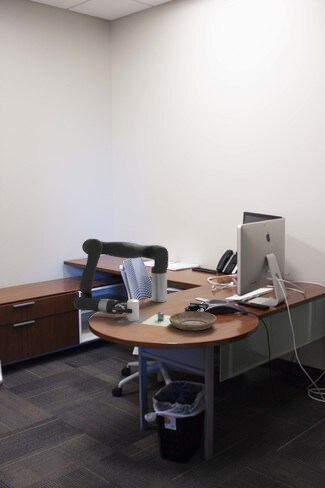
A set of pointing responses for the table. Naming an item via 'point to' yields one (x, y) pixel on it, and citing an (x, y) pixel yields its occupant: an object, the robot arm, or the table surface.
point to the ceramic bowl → (193, 320)
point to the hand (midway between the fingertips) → (136, 309)
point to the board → (154, 321)
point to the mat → (126, 321)
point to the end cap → (197, 307)
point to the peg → (160, 316)
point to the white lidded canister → (134, 306)
